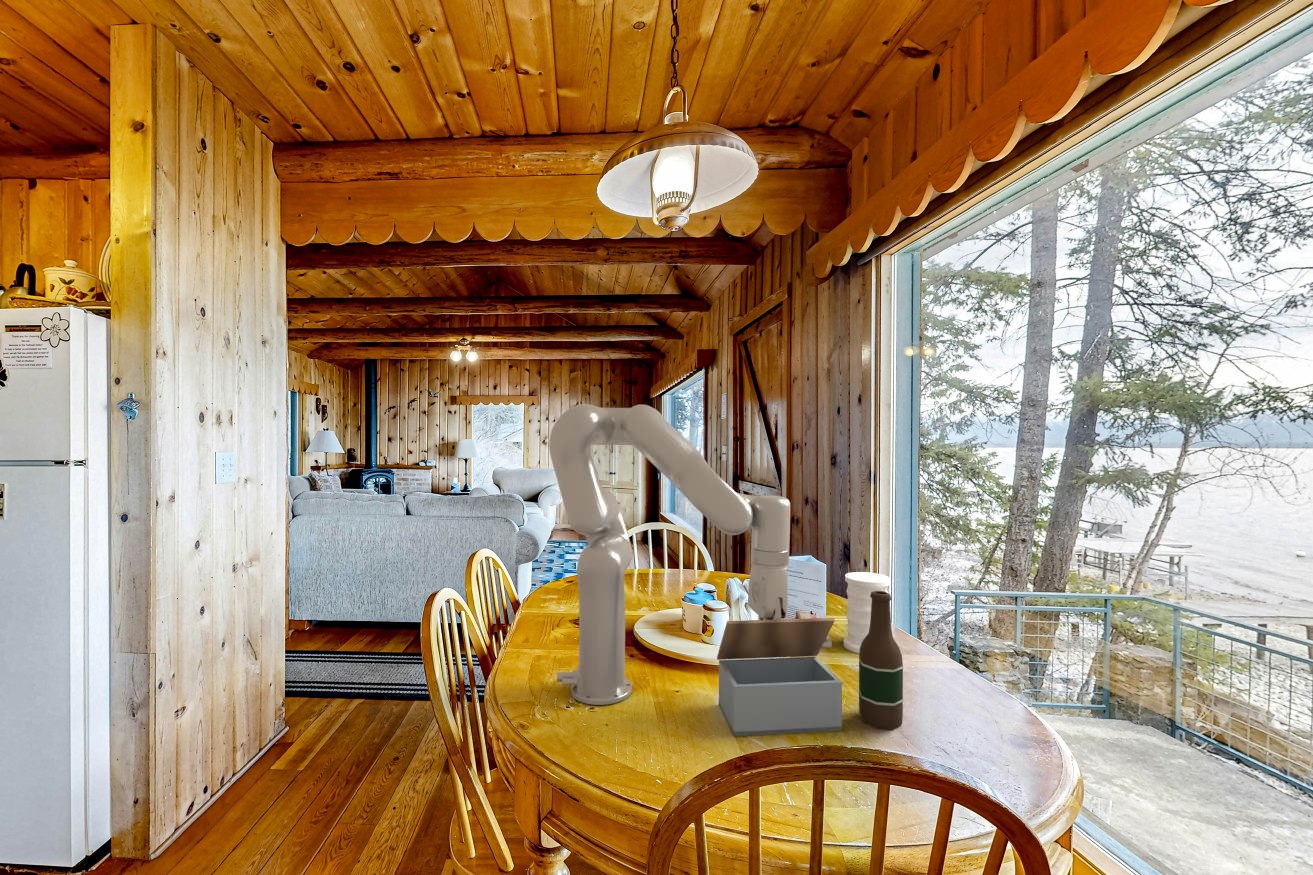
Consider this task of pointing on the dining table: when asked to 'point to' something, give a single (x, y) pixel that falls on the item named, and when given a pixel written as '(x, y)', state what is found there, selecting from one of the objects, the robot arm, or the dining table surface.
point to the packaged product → (805, 615)
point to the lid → (773, 638)
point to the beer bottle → (880, 669)
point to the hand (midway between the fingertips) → (767, 648)
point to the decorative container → (861, 605)
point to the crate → (779, 696)
